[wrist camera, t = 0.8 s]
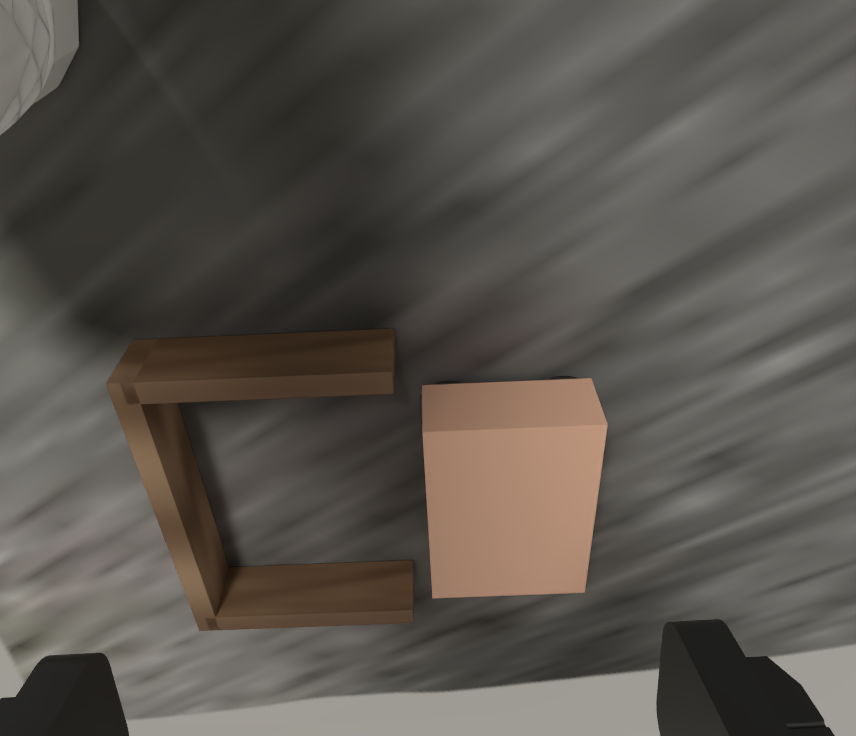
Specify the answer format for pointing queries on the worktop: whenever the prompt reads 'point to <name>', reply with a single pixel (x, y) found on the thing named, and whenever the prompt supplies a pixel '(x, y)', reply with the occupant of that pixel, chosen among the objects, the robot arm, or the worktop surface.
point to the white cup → (33, 52)
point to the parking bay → (185, 494)
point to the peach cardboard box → (511, 484)
